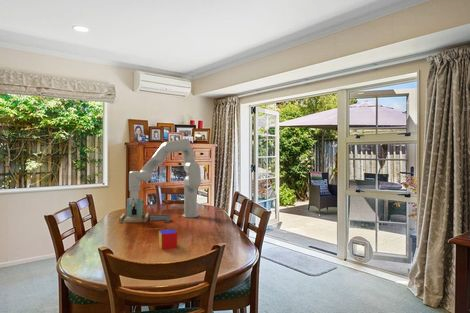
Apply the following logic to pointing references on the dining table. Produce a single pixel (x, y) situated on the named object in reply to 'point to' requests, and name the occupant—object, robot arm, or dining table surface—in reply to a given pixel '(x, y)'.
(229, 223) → the dining table surface
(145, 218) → the rack
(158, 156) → the robot arm
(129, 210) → the teal rectangular slab
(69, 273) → the dining table surface
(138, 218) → the beige rectangular block
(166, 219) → the stand
